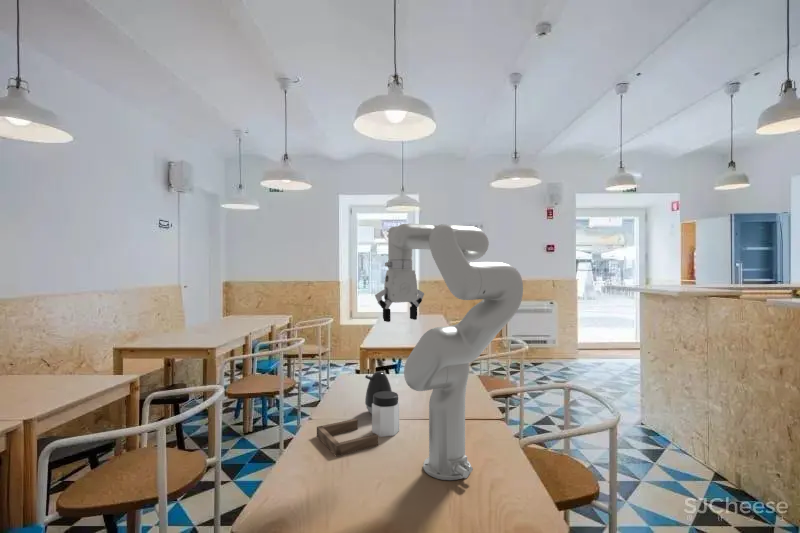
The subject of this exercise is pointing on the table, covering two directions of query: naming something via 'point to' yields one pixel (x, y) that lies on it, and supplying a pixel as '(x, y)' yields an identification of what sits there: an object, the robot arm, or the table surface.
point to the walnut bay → (346, 446)
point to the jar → (385, 413)
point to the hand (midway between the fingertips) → (400, 320)
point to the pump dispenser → (376, 387)
